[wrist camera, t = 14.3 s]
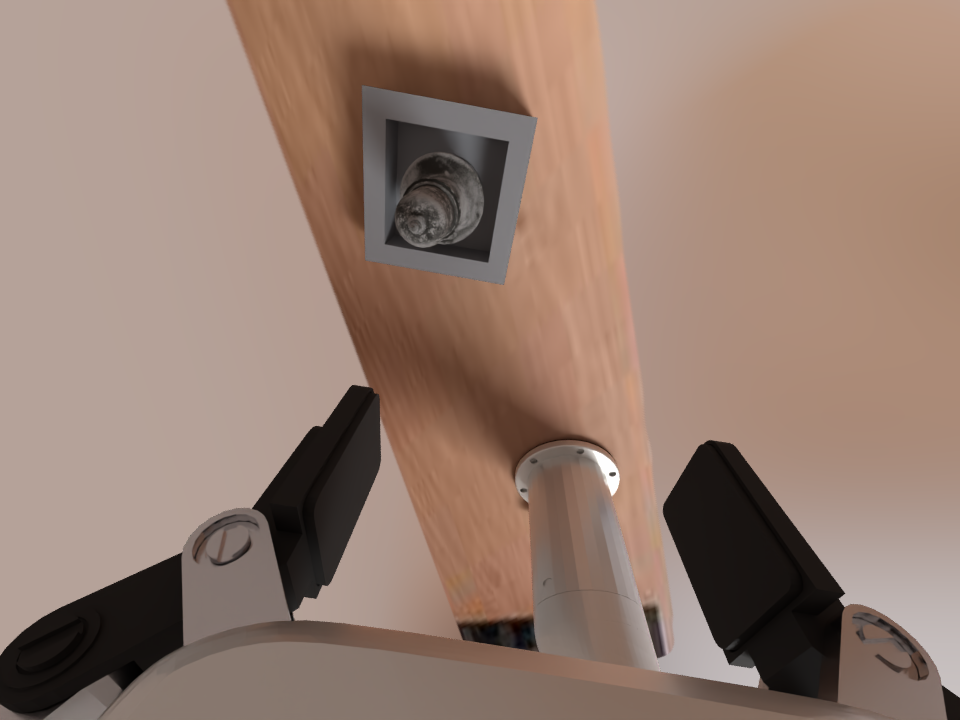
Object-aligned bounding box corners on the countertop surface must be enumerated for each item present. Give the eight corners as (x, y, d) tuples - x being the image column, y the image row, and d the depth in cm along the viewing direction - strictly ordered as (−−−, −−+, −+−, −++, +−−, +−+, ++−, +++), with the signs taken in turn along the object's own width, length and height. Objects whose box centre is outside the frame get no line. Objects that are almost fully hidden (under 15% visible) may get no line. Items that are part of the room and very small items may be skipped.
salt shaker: (451, 248, 30) (420, 306, 20) (396, 193, 28) (330, 226, 18) (503, 194, 27) (497, 230, 17) (446, 129, 25) (403, 127, 15)
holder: (504, 268, 31) (503, 284, 28) (381, 246, 31) (365, 260, 28) (534, 120, 26) (537, 117, 22) (381, 91, 25) (361, 84, 22)
